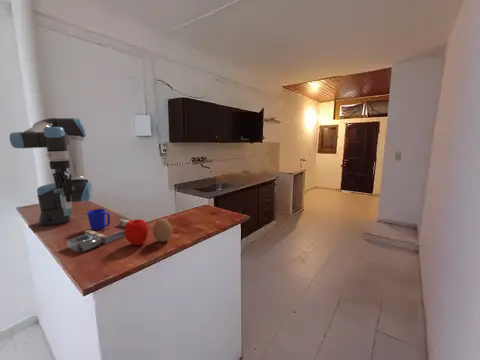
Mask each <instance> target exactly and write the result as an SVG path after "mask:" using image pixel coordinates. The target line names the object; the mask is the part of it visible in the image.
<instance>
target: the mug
mask: <svg viewBox="0 0 480 360" xmlns="http://www.w3.org/2000/svg"><path fill="white" fill-rule="evenodd" d="M105 211H106V210H105V209H103V208H97V209H92V210H89V211H87V212H86V213H87V214H86V215H87V217H88V221H89V225H90V228H91V229H90V230H91V231H99V230H102V229H104V228H105V227H108V226H110V223H111V213H110V212H105ZM106 216H107V217H106ZM106 218H107V224H106Z"/></svg>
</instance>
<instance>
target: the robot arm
mask: <svg viewBox="0 0 480 360" xmlns="http://www.w3.org/2000/svg"><path fill="white" fill-rule="evenodd" d="M85 137H87V133H86V129H85V126H84V124H83V120H82V119H81V118H70V117H69V118H67V117H65V118H60V117H59V118H57V117H50V118H45V119H41V120H38V121H36V122H35V123H33V125H32V127H30V128H28V129H26V130H24V131H23V132H22V131H21V132H20V131H17V132H10V134H9V143H10V144H11V146H12V148H14V149H23V150H24V149H38V148H41V149H43V148H44V149H45V148H46V151H47V154H46V156H47V157H48V160H49V161H48V162H49V167H50V169H51V170H54V173H53V172H52V177H53V181H54V182H53V183H47V184H45V185H41V186H39V187H38V188H37V189H36V193H37V199H38V203H39V209H40V213H39V219H38V224H39V226H41V227H48V226H55V225H60V224H64V223H66V222H68V221H70V220H71V215H69V216H64V211H63V205H62V199H61V194H60V193H54V191H53V190H56V189H62V188H63V191H64V195H63V196H64V202H65V208H66V209H68V208H72V209H73V203H80V202H81V203H83V202H88V201H90V200H91V198H92V194H93V193H92V192H93V191H92V190H93V189H92V188H93V187H92V184H93V183H92V182H91V181H89V179H88V178H87V177H86V174H85V172H86V171H85V164H84V154H83V153H84V152H83V147H82V146H83V145H82V142H83V141H84V139H85ZM72 187H74V188H75V190H72Z"/></svg>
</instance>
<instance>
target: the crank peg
mask: <svg viewBox="0 0 480 360" xmlns="http://www.w3.org/2000/svg"><path fill="white" fill-rule="evenodd" d="M72 190H75V188H74V187H72ZM53 191H54V193H60V194H61V199H62V205H63V211H64V216H69V215H70V216H72V215H73V214H74V213H73V207H72V208H68V209H66V208H65V202H64V196H63V195H64V191H63V188H62V189H56V190H53Z"/></svg>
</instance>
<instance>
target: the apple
mask: <svg viewBox="0 0 480 360" xmlns="http://www.w3.org/2000/svg"><path fill="white" fill-rule="evenodd" d="M128 221H129V222H128V223H127V224H126V226H124V230H125V231H124V235H125V239H126V241H127V242H129V243H130V244H131V245H132V246H141V245H143V244H144V243H146V240H147V238H148V234H149V226H148V224H147V222H146V221H145V220H144V219H140V218H139V219H133V220H128Z"/></svg>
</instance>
